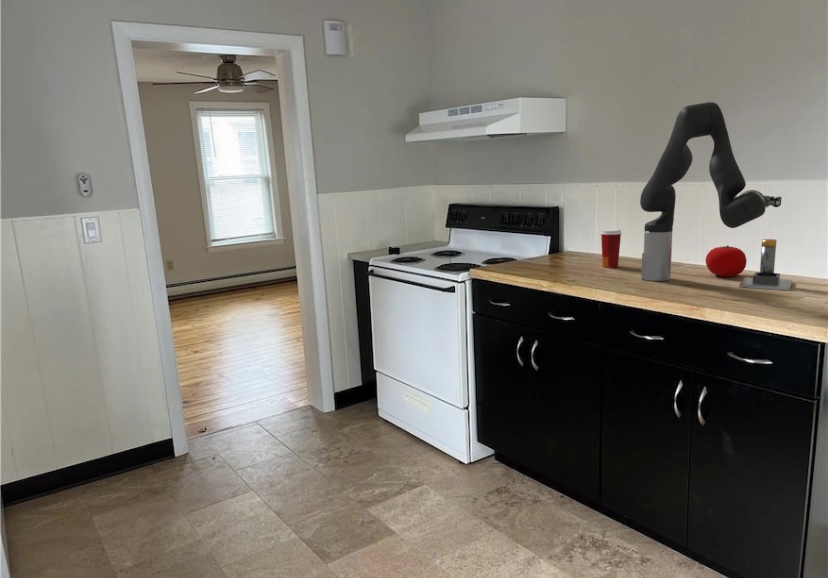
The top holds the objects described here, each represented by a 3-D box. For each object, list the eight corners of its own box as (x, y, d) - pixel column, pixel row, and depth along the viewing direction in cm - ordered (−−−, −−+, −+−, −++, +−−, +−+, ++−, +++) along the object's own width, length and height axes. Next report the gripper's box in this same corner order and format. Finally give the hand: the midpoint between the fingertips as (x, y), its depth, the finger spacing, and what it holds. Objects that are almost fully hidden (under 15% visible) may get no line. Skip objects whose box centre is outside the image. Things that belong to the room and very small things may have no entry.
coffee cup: (623, 265, 249) (624, 229, 246) (617, 268, 242) (618, 231, 239) (602, 264, 253) (603, 228, 251) (596, 267, 247) (597, 230, 244)
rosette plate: (739, 287, 199) (739, 276, 198) (744, 279, 210) (745, 270, 209) (789, 290, 191) (790, 279, 190) (792, 282, 202) (793, 272, 202)
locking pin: (758, 282, 200) (761, 240, 197) (759, 280, 203) (762, 238, 200) (772, 283, 197) (776, 240, 195) (773, 281, 201) (777, 239, 198)
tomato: (750, 278, 212) (752, 247, 210) (709, 279, 214) (711, 248, 212) (739, 273, 223) (741, 243, 221) (701, 273, 226) (702, 243, 224)
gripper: (779, 191, 168) (783, 187, 181) (722, 191, 176) (730, 187, 189) (777, 218, 170) (781, 212, 183) (720, 217, 178) (728, 211, 191)
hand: (755, 199), depth 186 cm, fingers open, 8 cm apart
